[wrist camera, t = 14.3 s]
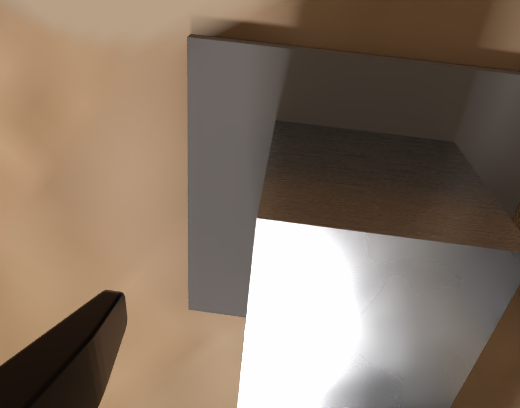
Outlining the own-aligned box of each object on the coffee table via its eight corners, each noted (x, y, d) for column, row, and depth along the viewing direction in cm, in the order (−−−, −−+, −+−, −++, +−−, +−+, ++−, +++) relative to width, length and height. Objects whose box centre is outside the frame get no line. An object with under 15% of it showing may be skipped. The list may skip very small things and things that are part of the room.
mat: (446, 337, 16) (449, 345, 16) (191, 302, 17) (188, 309, 16) (572, 77, 11) (579, 81, 11) (191, 34, 11) (187, 36, 11)
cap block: (397, 297, 15) (432, 438, 11) (257, 278, 15) (237, 409, 11) (454, 141, 12) (536, 254, 7) (275, 120, 12) (256, 218, 8)
